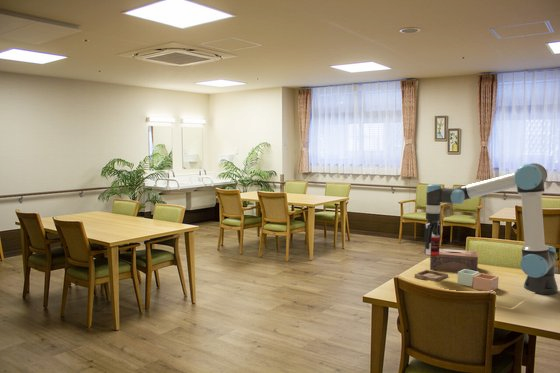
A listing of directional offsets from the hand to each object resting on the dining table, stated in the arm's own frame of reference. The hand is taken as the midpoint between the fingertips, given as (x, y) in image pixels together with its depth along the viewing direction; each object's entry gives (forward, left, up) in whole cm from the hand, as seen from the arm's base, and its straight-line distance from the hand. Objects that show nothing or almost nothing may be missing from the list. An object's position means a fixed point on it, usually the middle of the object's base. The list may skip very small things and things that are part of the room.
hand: (431, 253), depth 265 cm
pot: (-30, 0, -14) cm, 33 cm away
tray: (0, 0, -14) cm, 14 cm away
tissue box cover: (0, -27, -14) cm, 31 cm away
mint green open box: (-20, -2, -14) cm, 24 cm away
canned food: (0, 0, -1) cm, 1 cm away
